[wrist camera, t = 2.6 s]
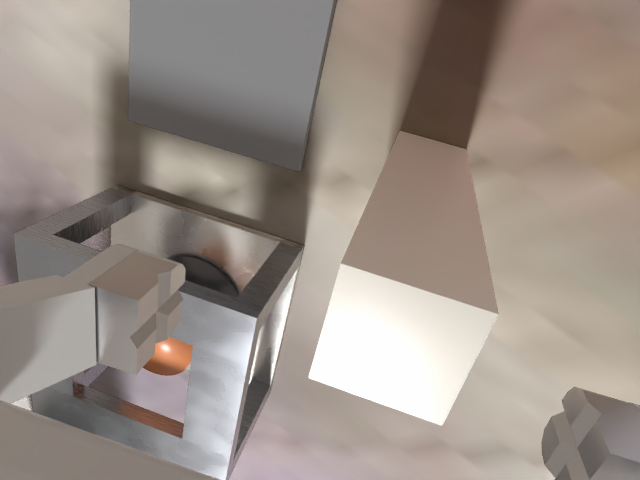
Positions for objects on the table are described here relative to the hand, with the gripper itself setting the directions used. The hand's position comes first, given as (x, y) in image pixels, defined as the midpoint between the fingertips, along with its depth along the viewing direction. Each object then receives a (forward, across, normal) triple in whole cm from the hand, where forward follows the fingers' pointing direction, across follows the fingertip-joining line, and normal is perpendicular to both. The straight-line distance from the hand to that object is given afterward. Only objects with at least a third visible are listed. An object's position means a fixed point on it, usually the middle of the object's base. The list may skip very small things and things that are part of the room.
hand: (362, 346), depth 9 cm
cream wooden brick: (+13, -1, 0) cm, 13 cm away
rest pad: (+13, +9, -4) cm, 16 cm away
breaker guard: (+13, +9, +10) cm, 19 cm away
